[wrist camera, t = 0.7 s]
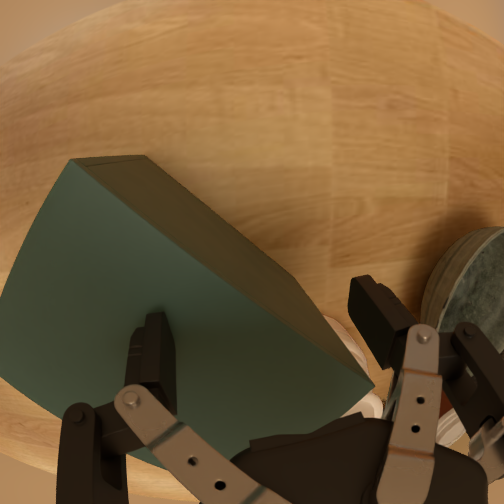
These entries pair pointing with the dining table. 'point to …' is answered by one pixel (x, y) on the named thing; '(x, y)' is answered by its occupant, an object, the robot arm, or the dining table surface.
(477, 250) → the bowl
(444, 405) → the coffee cup
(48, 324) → the cupboard
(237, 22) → the dining table surface
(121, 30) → the dining table surface
